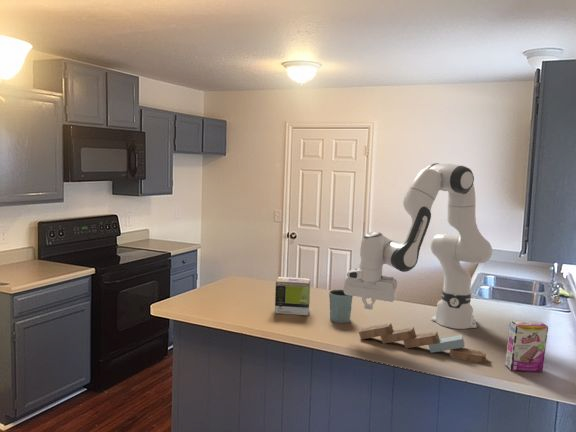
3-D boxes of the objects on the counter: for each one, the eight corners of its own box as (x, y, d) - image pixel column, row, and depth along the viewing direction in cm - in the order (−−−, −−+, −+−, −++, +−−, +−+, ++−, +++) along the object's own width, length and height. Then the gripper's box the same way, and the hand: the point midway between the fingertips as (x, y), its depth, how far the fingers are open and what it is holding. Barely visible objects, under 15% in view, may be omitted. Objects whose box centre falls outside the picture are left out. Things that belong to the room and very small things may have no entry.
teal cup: (350, 324, 206) (351, 296, 205) (326, 321, 208) (327, 294, 207) (351, 317, 216) (353, 290, 215) (329, 314, 218) (330, 288, 217)
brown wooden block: (451, 345, 180) (486, 351, 176) (450, 353, 181) (485, 360, 176) (450, 350, 176) (486, 356, 171) (449, 358, 176) (485, 365, 171)
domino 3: (405, 336, 187) (437, 331, 182) (407, 343, 187) (439, 339, 182) (403, 340, 182) (435, 335, 177) (405, 348, 182) (437, 343, 177)
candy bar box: (511, 371, 166) (516, 324, 164) (504, 365, 171) (509, 320, 169) (543, 372, 166) (549, 326, 164) (535, 366, 171) (540, 321, 169)
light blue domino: (429, 340, 183) (462, 334, 179) (431, 348, 183) (464, 342, 179) (428, 344, 179) (462, 339, 175) (430, 352, 179) (464, 347, 175)
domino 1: (361, 328, 194) (391, 322, 189) (364, 335, 194) (393, 330, 189) (358, 331, 189) (388, 326, 184) (360, 339, 189) (390, 334, 184)
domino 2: (383, 332, 190) (413, 326, 186) (385, 339, 190) (415, 334, 185) (380, 336, 186) (411, 330, 181) (382, 343, 186) (413, 338, 181)
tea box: (309, 309, 224) (311, 277, 223) (308, 316, 214) (309, 283, 213) (276, 307, 226) (278, 275, 224) (274, 313, 216) (275, 280, 214)
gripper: (399, 276, 188) (396, 311, 190) (348, 269, 197) (346, 302, 198) (395, 279, 182) (393, 315, 184) (343, 272, 191) (341, 306, 193)
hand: (368, 308), depth 191 cm, fingers closed
